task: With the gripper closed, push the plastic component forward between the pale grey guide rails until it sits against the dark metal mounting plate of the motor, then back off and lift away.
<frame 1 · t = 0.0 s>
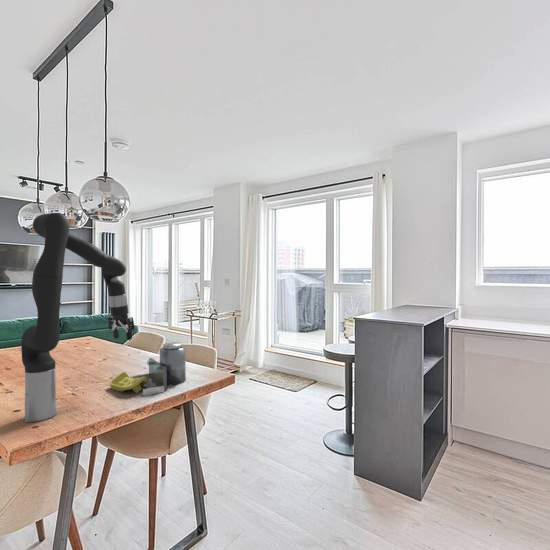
hand: (123, 339, 156), 22 cm above the table, tool pointing down, fingers open, 8 cm apart
plastic component: (129, 390, 154), on the table
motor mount: (166, 382, 163), on the table
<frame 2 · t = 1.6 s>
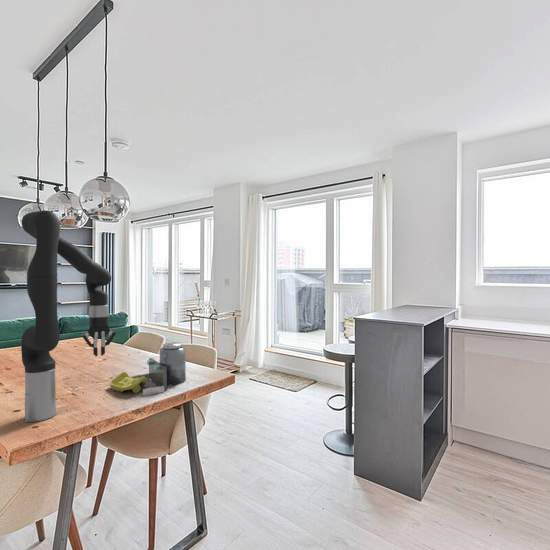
hand: (99, 355, 147), 17 cm above the table, tool pointing down, fingers closed
nothing on the table moved.
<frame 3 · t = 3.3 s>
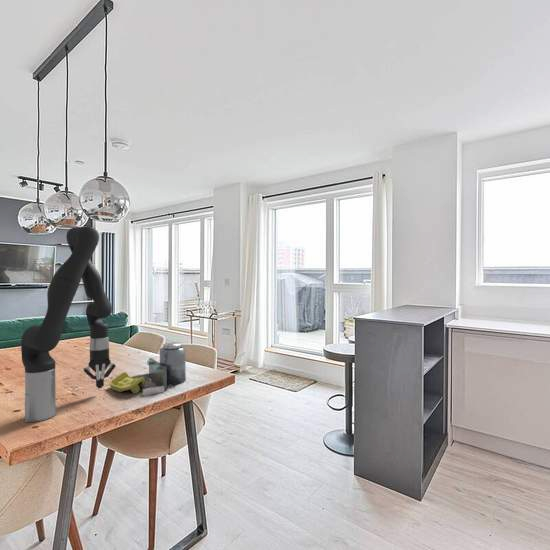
hand: (100, 387, 147), 3 cm above the table, tool pointing down, fingers closed
nothing on the table moved.
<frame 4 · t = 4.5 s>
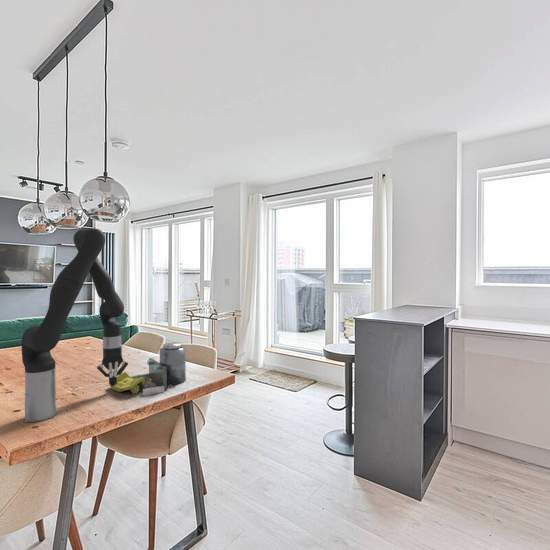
hand: (112, 385, 150), 3 cm above the table, tool pointing down, fingers closed
plastic component: (128, 390, 153), on the table, touching gripper
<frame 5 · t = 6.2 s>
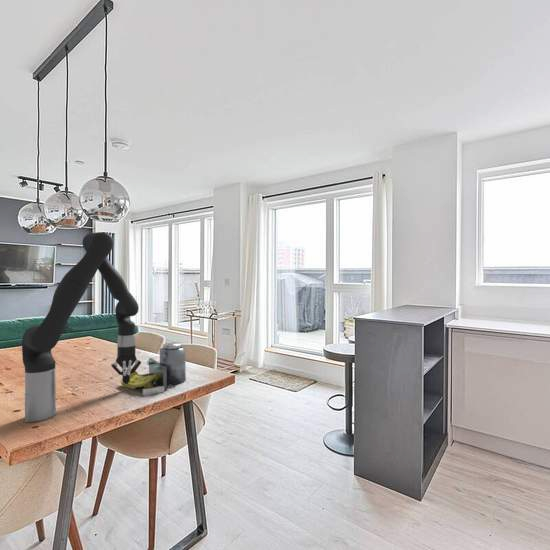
hand: (126, 383, 153), 3 cm above the table, tool pointing down, fingers closed
plastic component: (140, 387, 157), on the table, touching gripper
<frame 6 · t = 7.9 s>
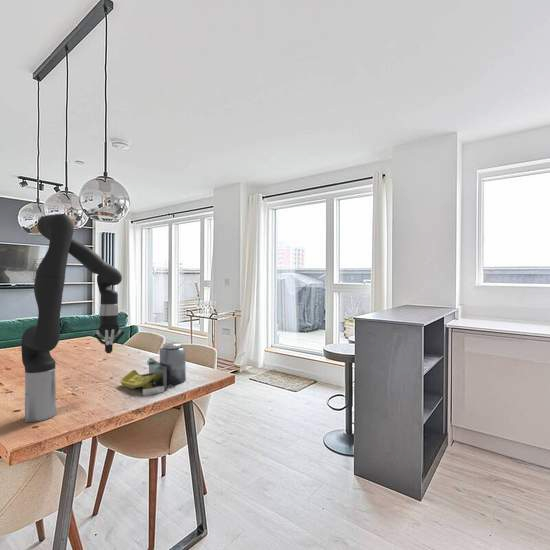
hand: (108, 353, 151), 17 cm above the table, tool pointing down, fingers closed
plastic component: (139, 387, 157), on the table
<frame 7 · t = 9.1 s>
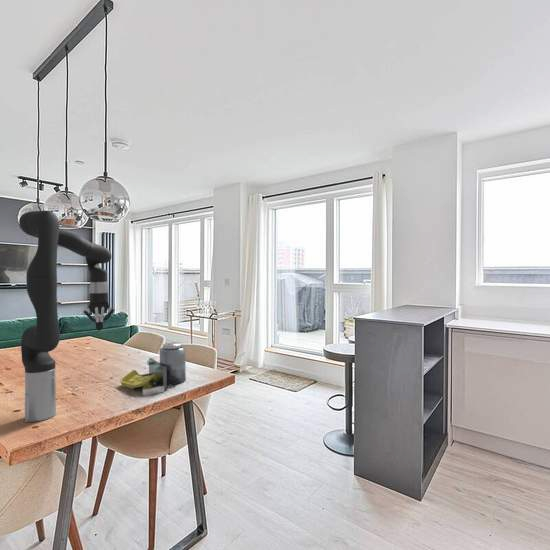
hand: (99, 330, 153), 27 cm above the table, tool pointing down, fingers closed
nothing on the table moved.
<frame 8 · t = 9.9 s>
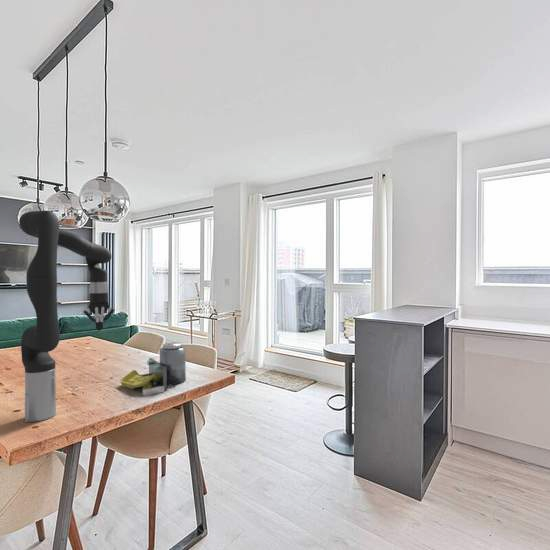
hand: (99, 330, 153), 27 cm above the table, tool pointing down, fingers closed
nothing on the table moved.
at the end: plastic component 1.1 cm from the target spot, on the table; plastic component tilted 2°; the gripper is holding nothing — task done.
